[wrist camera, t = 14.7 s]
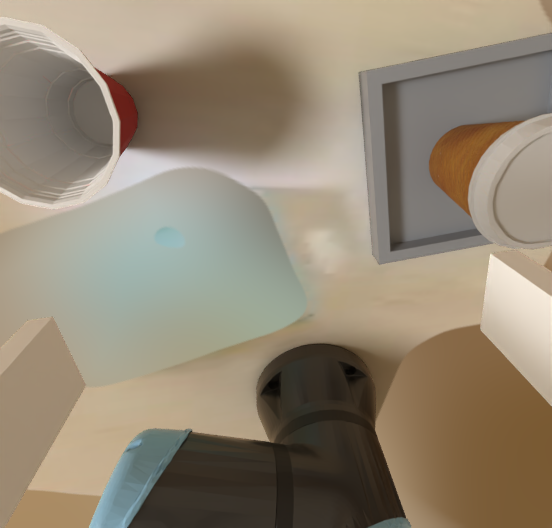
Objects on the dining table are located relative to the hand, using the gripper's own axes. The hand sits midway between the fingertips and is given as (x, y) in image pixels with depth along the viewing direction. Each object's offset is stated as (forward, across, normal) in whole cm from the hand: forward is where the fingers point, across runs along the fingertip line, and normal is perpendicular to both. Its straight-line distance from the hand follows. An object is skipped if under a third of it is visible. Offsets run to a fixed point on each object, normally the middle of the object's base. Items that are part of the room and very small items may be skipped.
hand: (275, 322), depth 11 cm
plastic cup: (+27, +13, -6) cm, 31 cm away
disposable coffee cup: (+26, -19, +2) cm, 32 cm away
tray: (+27, -19, +2) cm, 33 cm away
